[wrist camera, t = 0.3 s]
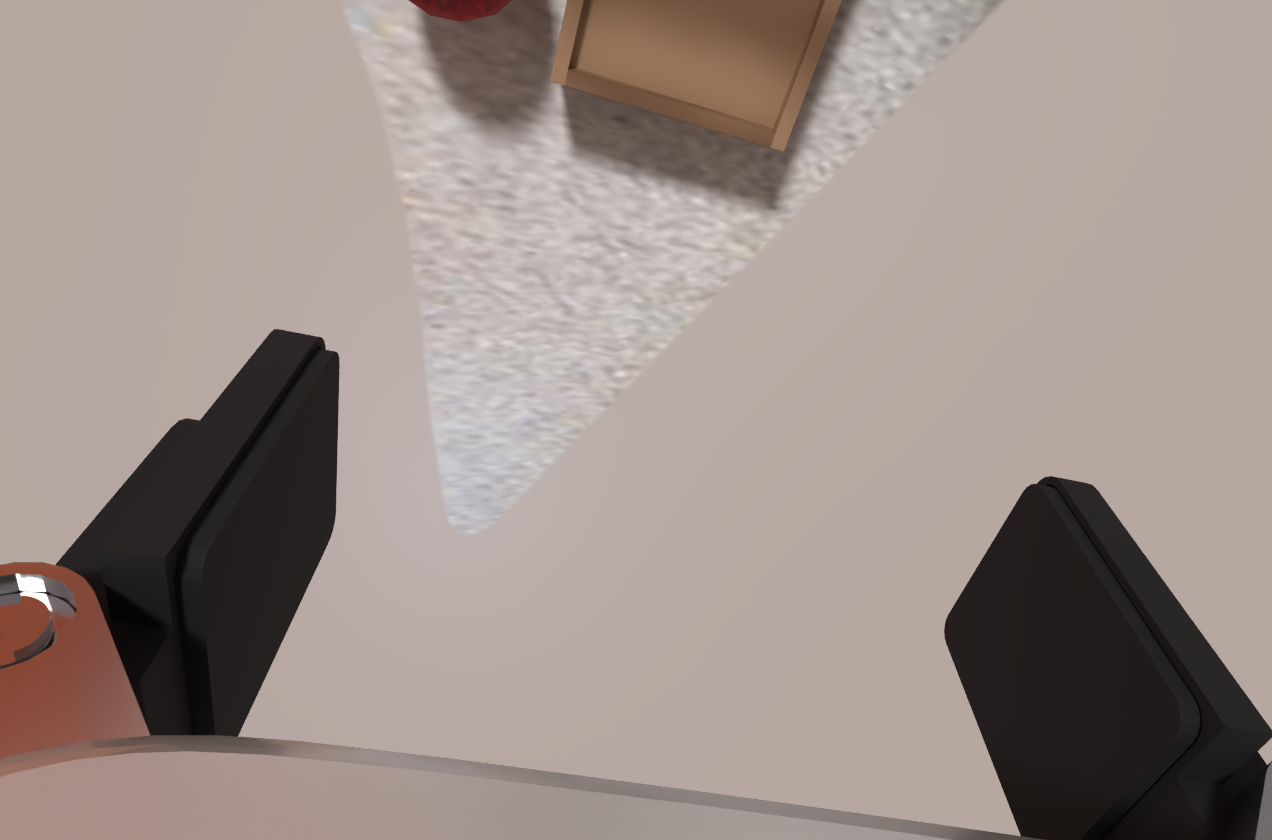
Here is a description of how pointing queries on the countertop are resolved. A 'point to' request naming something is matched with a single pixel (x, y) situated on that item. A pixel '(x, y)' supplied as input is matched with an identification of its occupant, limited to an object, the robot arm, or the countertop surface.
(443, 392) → the countertop surface
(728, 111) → the wooden tray
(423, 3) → the onion
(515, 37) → the countertop surface
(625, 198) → the countertop surface
